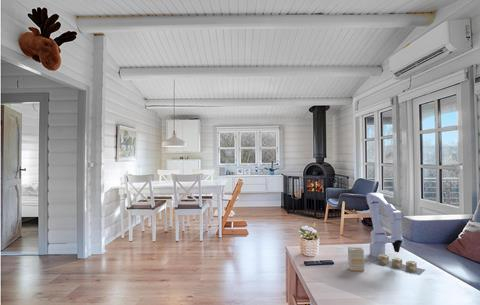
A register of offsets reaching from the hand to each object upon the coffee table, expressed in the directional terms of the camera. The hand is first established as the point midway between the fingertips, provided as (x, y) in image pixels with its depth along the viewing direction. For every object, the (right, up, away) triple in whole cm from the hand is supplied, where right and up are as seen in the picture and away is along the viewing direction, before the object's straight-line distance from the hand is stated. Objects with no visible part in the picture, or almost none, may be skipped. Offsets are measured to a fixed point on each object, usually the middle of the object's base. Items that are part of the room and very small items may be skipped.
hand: (396, 251), depth 180 cm
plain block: (0, -9, 0) cm, 9 cm away
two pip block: (-5, -9, +6) cm, 12 cm away
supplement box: (-27, -10, -4) cm, 29 cm away
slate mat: (0, -9, 0) cm, 9 cm away
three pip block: (+5, -9, -6) cm, 12 cm away
